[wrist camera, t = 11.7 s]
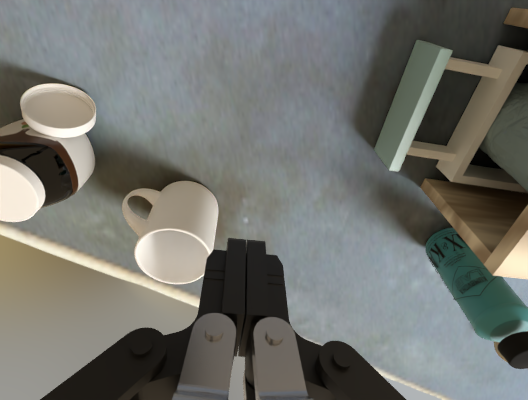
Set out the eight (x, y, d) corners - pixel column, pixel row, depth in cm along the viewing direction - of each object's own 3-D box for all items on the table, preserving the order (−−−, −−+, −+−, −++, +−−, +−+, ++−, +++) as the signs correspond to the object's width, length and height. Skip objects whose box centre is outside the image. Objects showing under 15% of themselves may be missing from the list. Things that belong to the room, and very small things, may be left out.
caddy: (420, 29, 35) (446, 36, 30) (616, 69, 38) (667, 81, 33) (371, 156, 43) (385, 177, 38) (535, 181, 46) (567, 203, 41)
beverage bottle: (471, 228, 50) (580, 351, 34) (440, 258, 54) (526, 382, 37) (439, 214, 49) (537, 335, 32) (409, 245, 52) (484, 370, 35)
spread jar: (30, 172, 43) (-34, 227, 33) (-12, 82, 37) (-106, 118, 27) (123, 168, 43) (86, 223, 33) (97, 78, 37) (42, 113, 27)
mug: (153, 152, 42) (127, 198, 33) (231, 200, 46) (226, 252, 37) (123, 197, 45) (91, 250, 36) (197, 238, 50) (185, 294, 41)
